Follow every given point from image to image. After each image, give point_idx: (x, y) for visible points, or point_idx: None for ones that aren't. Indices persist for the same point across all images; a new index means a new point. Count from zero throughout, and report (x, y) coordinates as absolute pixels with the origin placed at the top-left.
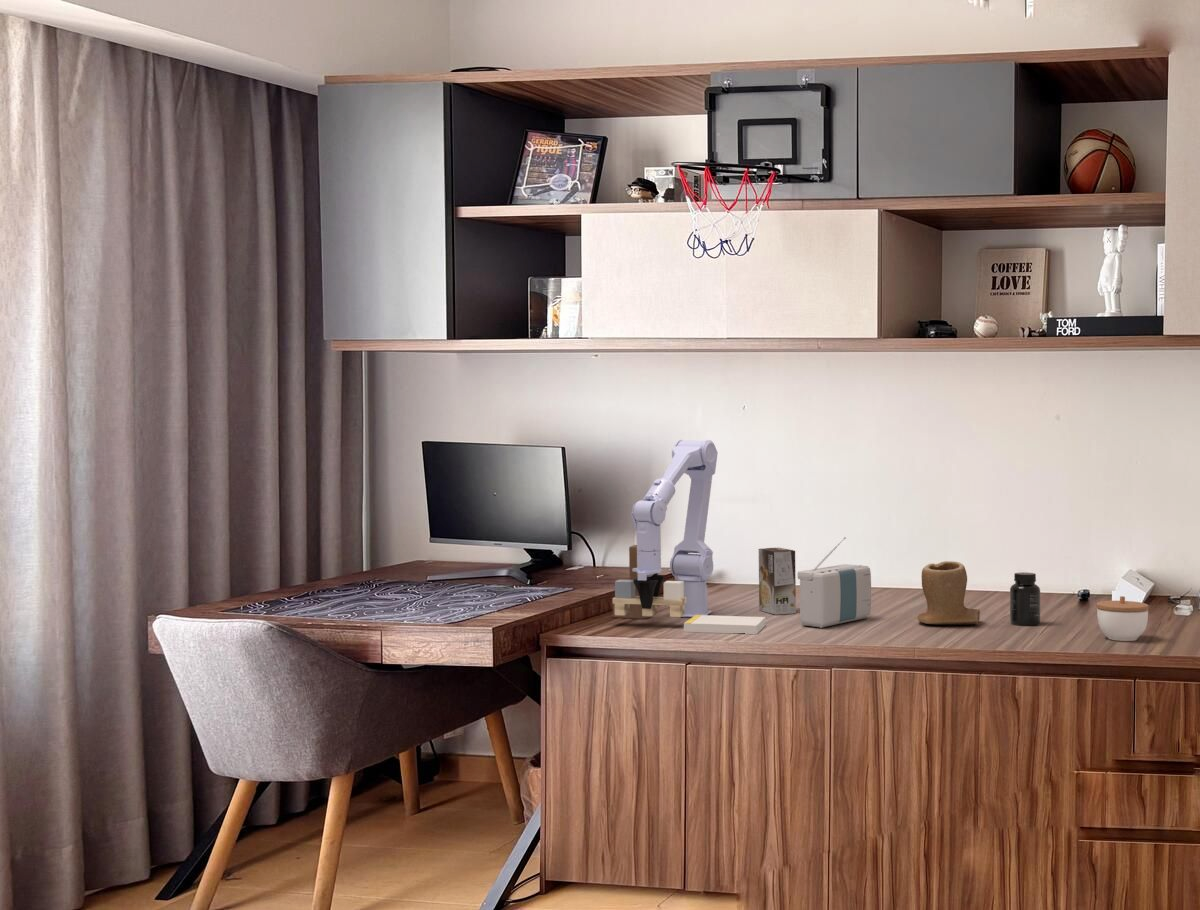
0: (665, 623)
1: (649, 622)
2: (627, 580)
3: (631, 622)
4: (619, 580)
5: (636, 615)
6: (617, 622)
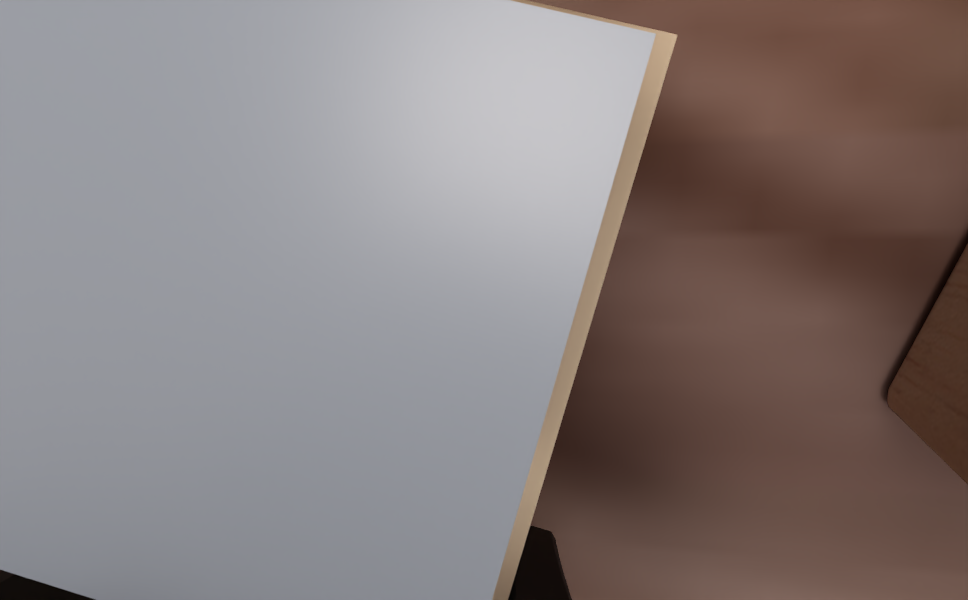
0: (565, 552)
1: (642, 417)
2: (297, 439)
3: (661, 229)
4: (280, 69)
5: (954, 300)
6: (679, 55)
